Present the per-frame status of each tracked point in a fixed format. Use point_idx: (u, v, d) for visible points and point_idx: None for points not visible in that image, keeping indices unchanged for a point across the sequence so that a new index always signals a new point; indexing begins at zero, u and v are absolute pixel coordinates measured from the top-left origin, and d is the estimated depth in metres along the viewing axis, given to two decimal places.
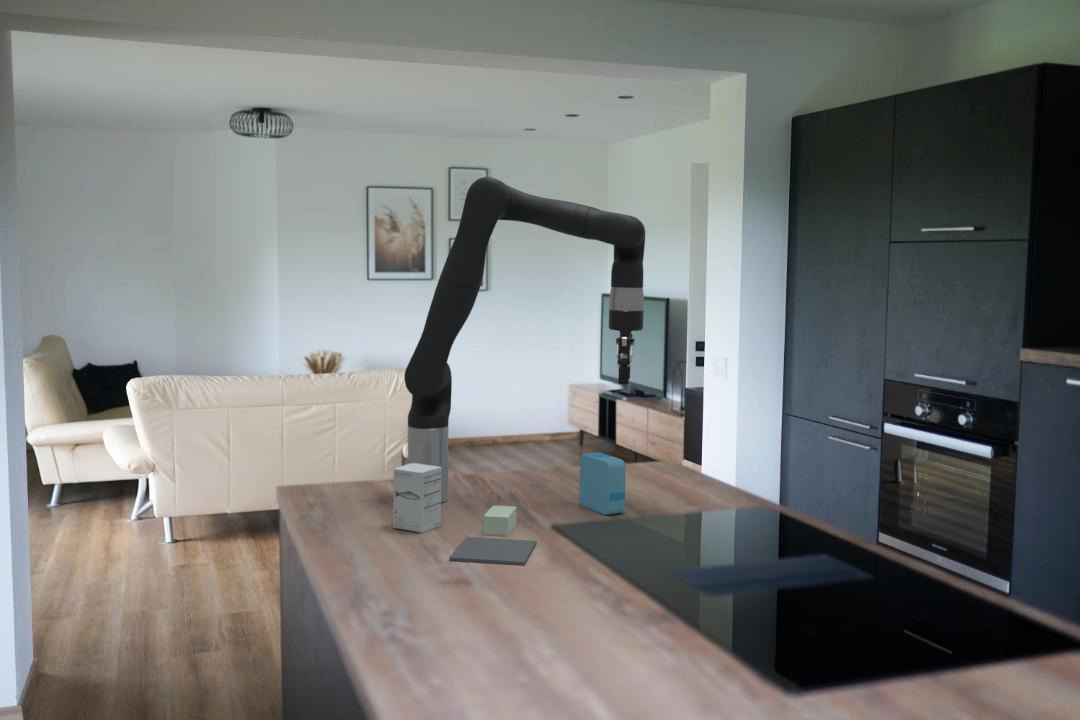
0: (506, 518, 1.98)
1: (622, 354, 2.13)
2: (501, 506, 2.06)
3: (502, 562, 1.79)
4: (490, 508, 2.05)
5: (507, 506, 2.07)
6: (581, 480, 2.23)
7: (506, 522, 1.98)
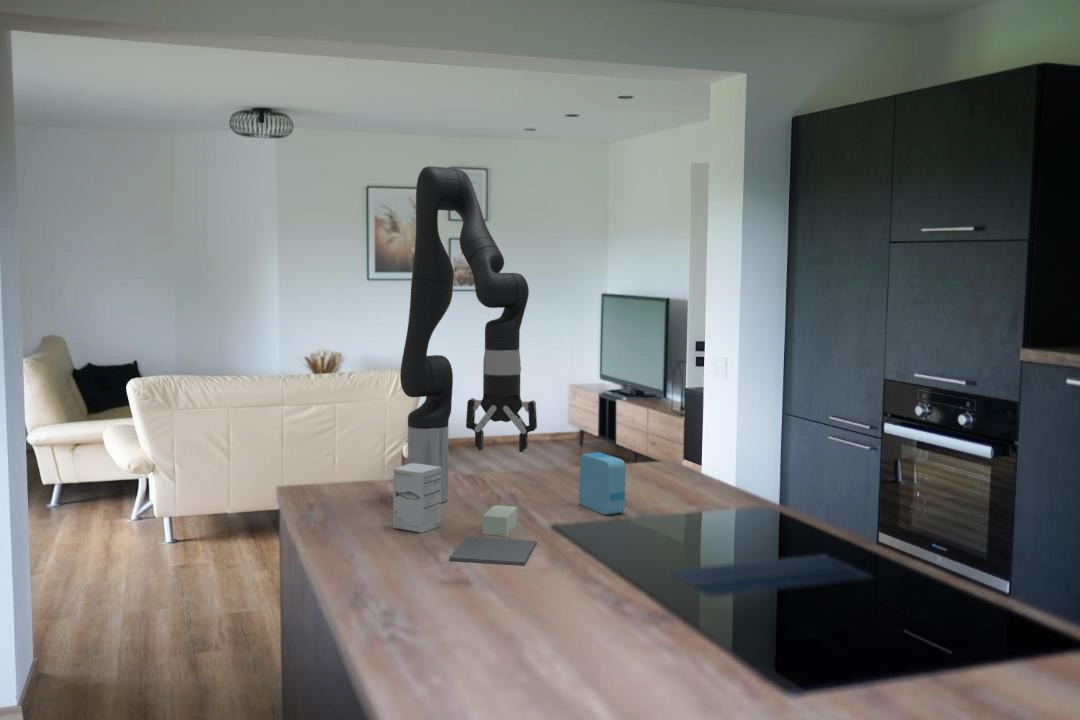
0: (505, 518, 1.98)
1: (520, 420, 2.00)
2: (502, 506, 2.06)
3: (502, 562, 1.79)
4: (491, 508, 2.05)
5: (508, 506, 2.07)
6: (581, 480, 2.23)
7: (505, 522, 1.98)
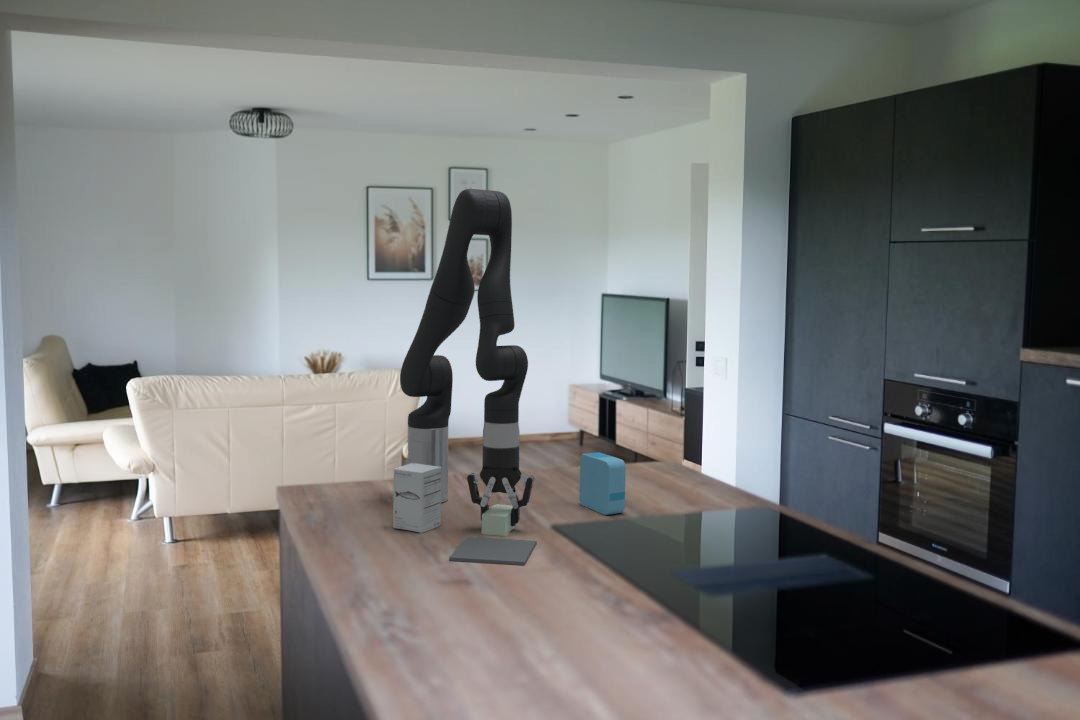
0: (504, 517, 1.98)
1: (515, 494, 2.01)
2: (503, 505, 2.06)
3: (502, 562, 1.79)
4: (491, 507, 2.05)
5: (509, 505, 2.06)
6: (581, 480, 2.23)
7: (504, 521, 1.98)
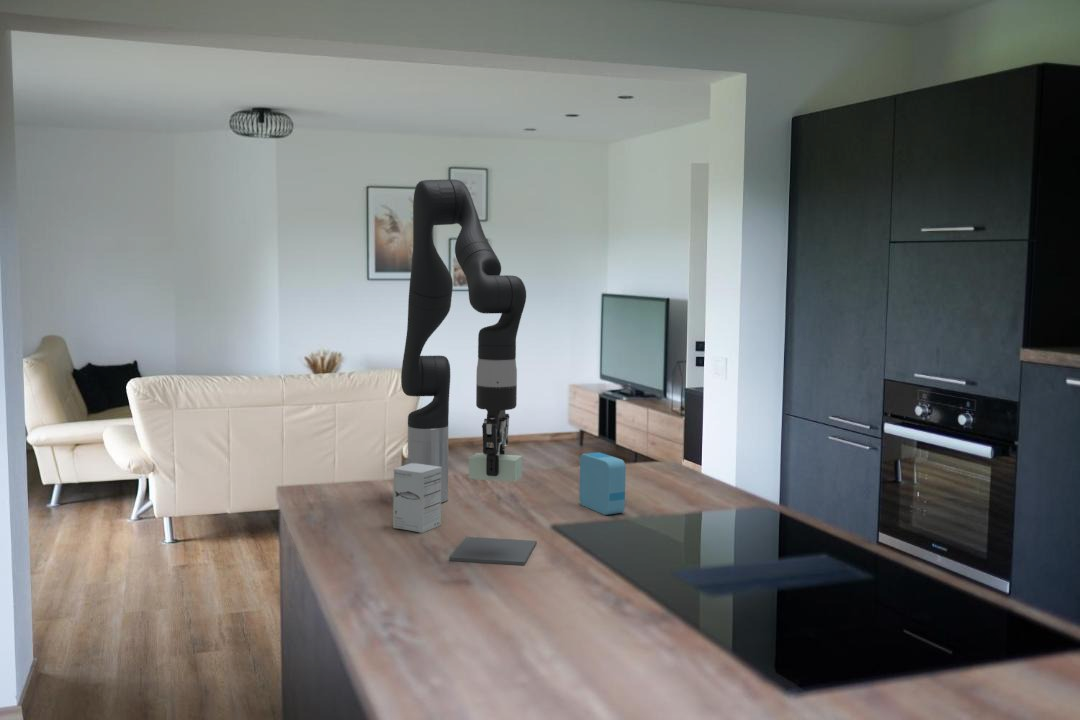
0: None
1: None
2: (474, 455, 1.85)
3: (502, 562, 1.79)
4: (482, 458, 1.83)
5: (475, 454, 1.87)
6: (581, 480, 2.23)
7: (521, 461, 1.86)
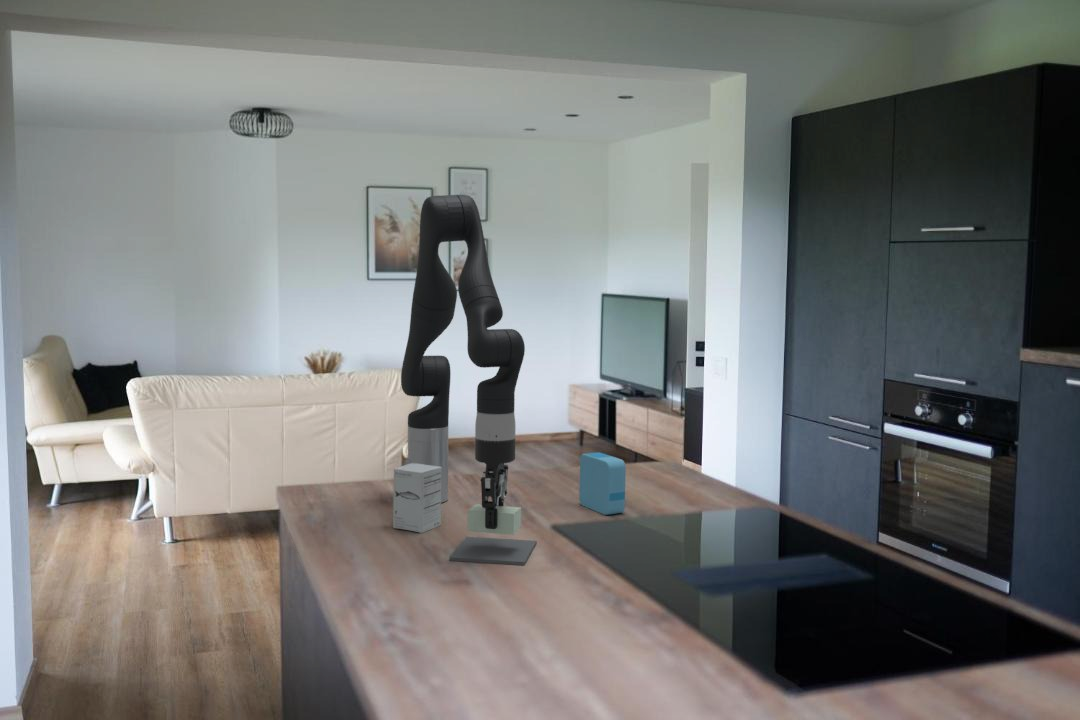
0: (520, 509, 1.87)
1: None
2: (473, 507, 1.86)
3: (502, 562, 1.79)
4: (481, 511, 1.84)
5: (474, 506, 1.88)
6: (581, 480, 2.23)
7: (520, 513, 1.87)
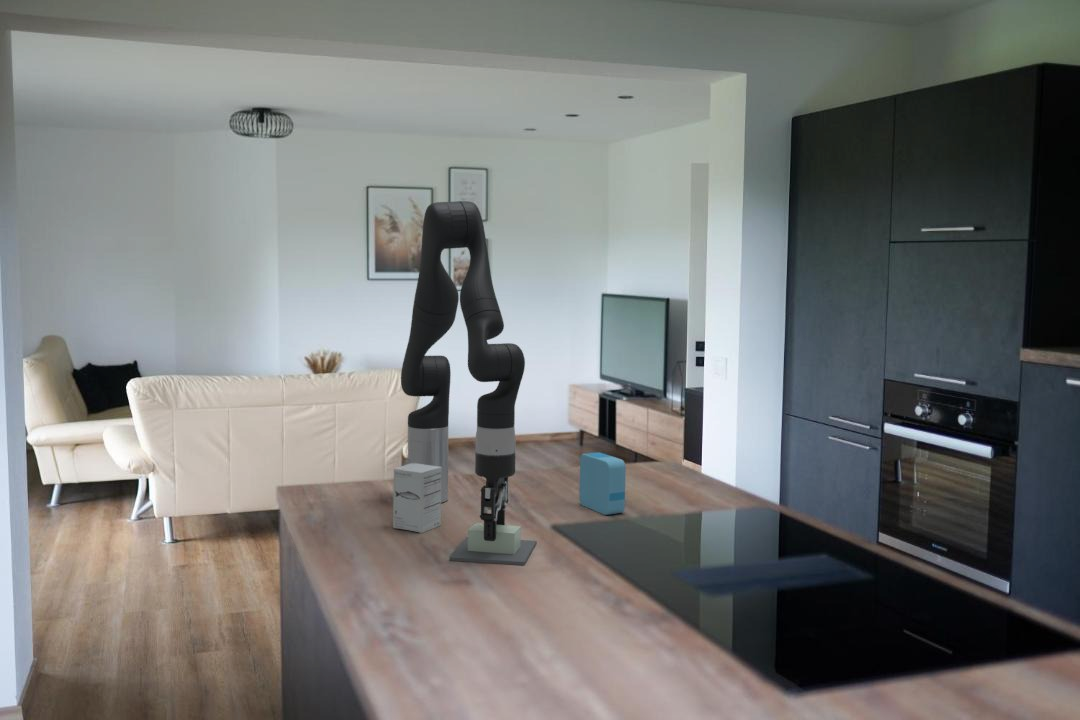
0: (520, 527, 1.88)
1: None
2: (473, 527, 1.87)
3: (502, 562, 1.79)
4: (481, 530, 1.84)
5: (473, 525, 1.88)
6: (581, 480, 2.23)
7: (520, 532, 1.88)
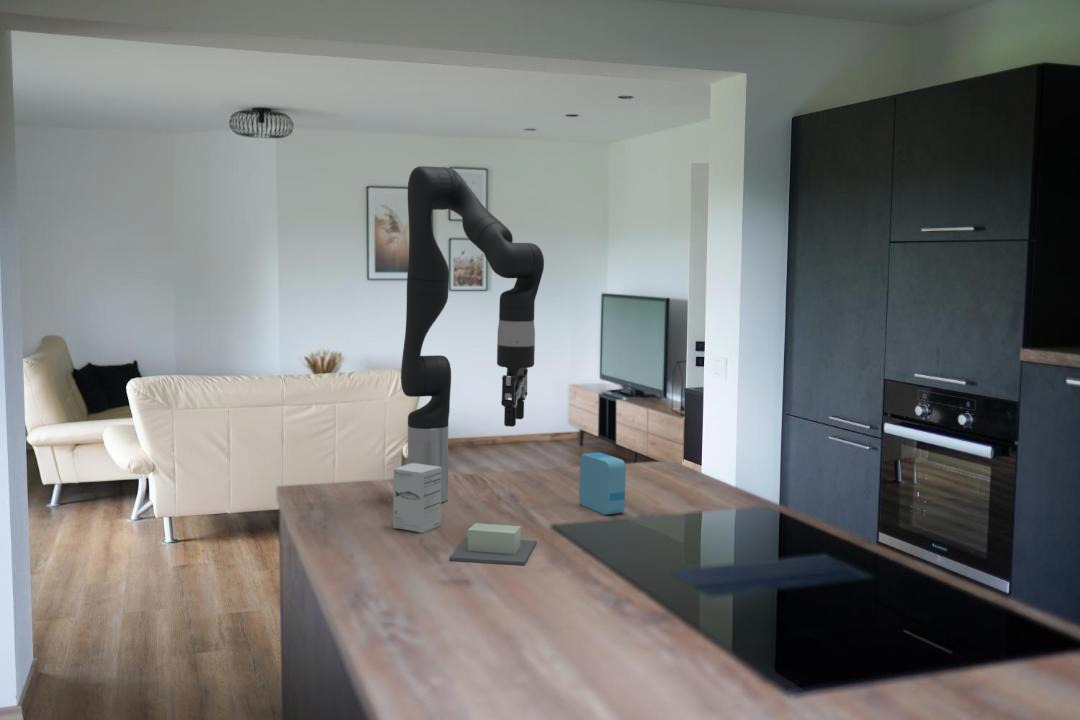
0: (520, 527, 1.88)
1: None
2: (473, 527, 1.87)
3: (502, 562, 1.79)
4: (481, 530, 1.84)
5: (473, 525, 1.88)
6: (581, 480, 2.23)
7: (520, 532, 1.88)
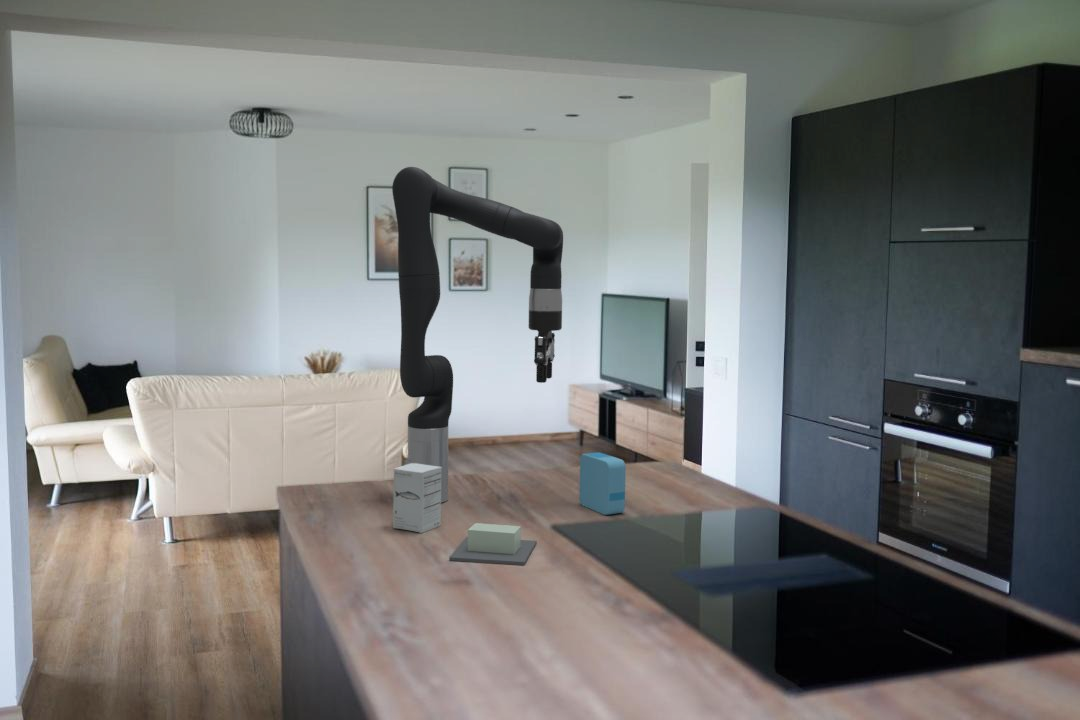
0: (520, 527, 1.88)
1: None
2: (473, 527, 1.87)
3: (502, 562, 1.79)
4: (481, 530, 1.84)
5: (473, 525, 1.88)
6: (581, 480, 2.23)
7: (520, 532, 1.88)
